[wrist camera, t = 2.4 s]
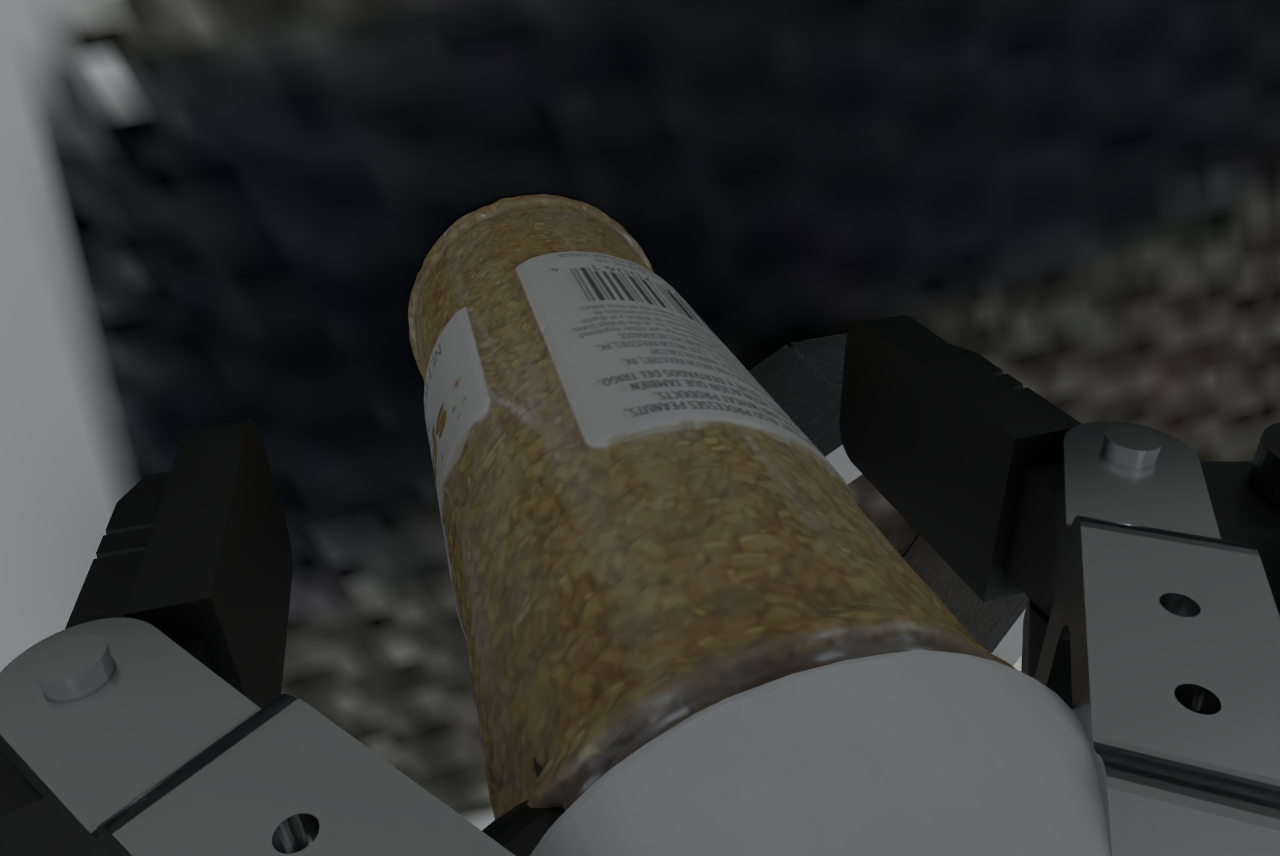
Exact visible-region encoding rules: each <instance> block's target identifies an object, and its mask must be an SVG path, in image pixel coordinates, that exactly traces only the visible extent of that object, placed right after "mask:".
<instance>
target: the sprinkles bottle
mask: <svg viewBox="0 0 1280 856" xmlns="http://www.w3.org/2000/svg"><path fill="white" fill-rule="evenodd" d="M408 321H409V338H410V342H411V346H412V350H413V355H414V357H415V360H416V363H417V365H418V368H419V370H420V373H421V374H422V376H423V379H424V383H425V388H424V410H425V421H426V427H427V433H428V439H429V445H430V451H431V457H432V463H433V470H434V476H435V482H436V489H437V496H438V503H439V509H440V516H441V522H442V528H443V534H444V540H445V546H446V553H447V559H448V566H449V573H450V579H451V584H452V589H453V594H454V599H455V604H456V609H457V614H458V618H459V621H460V624H461V627H462V630H463V633H464V636H465V639H466V642H467V645H468V653H469V663H470V670H471V676H472V681H473V688H474V697H475V702H476V706H477V711H478V720H479V729H480V734H481V743H482V746H483V750H484V754H485V757H486V776H487V782H488V789H489V795H490V800H491V804H492V809H493V813H494V817H495V820H496V819H497V818H499V817H500V816H502V815H503V814H505V813H506V812H508V811H509V810H511V809H512V808H514V807H515V806H517V805H518V804H520V803H522V802H523V801H526V800H529V802H528V804H527V805H528V806H529V807H530V808H549V807H560V808H564V809H565V810H566V811H565V812H564V813H563V814H562V815H561V816H560V817H559V818H558V819H557V820H556V821H555V823H554V824H553V825H552V826H551V827H550V828H549V830H548V831H547V832H546V833H545V834H544V836H543V837H542V839H541V840H540V842H539V843H538V845H537V846H536V848H535V849H534V850H533V852H532V853H531V855H530V856H1111V854H1110V847H1109V840H1108V833H1107V826H1106V820H1105V813H1104V807H1103V802H1102V797H1101V792H1100V786H1099V781H1098V776H1097V771H1096V767H1095V763H1094V759H1093V755H1092V751H1091V748H1090V744H1089V741H1088V738H1087V736H1086V733H1085V730H1084V728H1083V726H1082V724H1081V722H1080V720H1079V718H1078V716H1077V715H1076V714H1075V713H1074V712H1073V711H1072V709H1071V708H1070V707H1069V706H1068V705H1067V704H1066V703H1065V702H1064V701H1063V700H1062V699H1061V698H1060V697H1059V695H1058V694H1056V693H1055V692H1054V691H1052V690H1051V689H1049V688H1048V687H1047V686H1045V685H1044V684H1042V683H1041V682H1039V681H1038V680H1036V679H1034V678H1032V677H1030V676H1028V675H1026V674H1025V673H1023V672H1021V671H1019V670H1016V669H1015V668H1014V667H1013V666H1012V665H1011V664H1009V663H1008V662H1006V661H1004V660H1002V659H1000V658H999V657H997V656H995V655H993V654H991V653H990V652H989V651H987V650H986V649H985V648H983V647H982V646H981V645H979V644H978V643H977V642H976V641H975V639H974V638H973V637H972V636H971V635H970V633H969V632H968V631H967V630H966V629H965V627H964V626H963V625H962V624H961V623H960V622H959V621H958V619H957V618H956V617H955V616H954V615H953V614H952V613H951V611H950V610H949V609H948V608H947V607H946V606H945V605H944V604H943V602H942V601H941V600H940V599H939V598H938V597H937V596H936V594H935V593H934V592H933V591H932V590H931V589H930V587H929V586H928V585H927V584H926V583H925V582H924V581H923V580H922V579H921V578H920V577H919V576H918V574H917V573H916V572H915V571H914V570H913V569H912V568H911V567H910V565H909V564H908V563H907V562H906V561H905V560H904V559H903V558H902V557H901V555H900V554H899V553H898V552H897V551H896V550H895V549H894V548H893V547H892V545H891V544H890V543H889V541H888V540H887V539H886V537H885V536H884V535H883V533H882V532H881V531H880V530H879V529H878V528H877V527H876V526H875V525H874V524H873V523H872V521H871V520H870V519H869V518H868V517H867V516H866V515H865V513H864V512H863V511H862V510H861V509H860V508H859V507H858V506H857V503H856V501H855V499H854V497H853V495H852V492H851V490H850V489H849V487H848V485H847V483H846V482H845V480H844V478H843V477H842V476H841V475H840V474H839V473H838V472H837V470H836V469H835V468H834V467H833V466H832V465H831V463H830V462H829V461H828V460H827V459H826V458H825V456H824V455H823V454H822V453H821V452H820V451H819V450H818V448H817V447H816V446H815V445H814V444H813V443H812V442H811V441H810V440H809V439H808V437H807V436H806V435H805V434H804V433H803V432H802V431H801V430H800V429H799V428H798V426H797V425H796V424H795V423H794V422H793V421H792V420H791V419H790V417H789V416H788V415H787V414H786V413H785V412H784V411H783V410H782V408H781V407H780V406H779V405H778V404H777V403H776V402H775V401H774V400H773V398H772V397H771V396H770V395H769V394H768V393H767V392H766V391H765V389H764V388H763V387H762V386H761V385H760V384H759V383H758V382H757V380H756V379H755V378H754V377H753V376H752V375H751V374H750V373H749V372H748V370H747V369H746V368H745V367H744V366H743V365H742V364H741V363H740V361H739V360H738V359H737V358H736V357H735V356H734V355H733V354H732V353H731V351H730V350H729V349H728V348H727V347H726V346H725V345H724V344H723V342H722V341H721V340H720V339H719V338H718V337H717V336H716V335H715V334H714V332H713V331H712V330H711V329H710V328H709V327H708V326H707V325H706V323H705V322H704V321H703V320H702V319H701V318H700V317H699V316H698V314H697V313H696V312H695V311H694V310H693V309H692V308H691V307H690V306H689V304H688V303H687V302H686V301H685V300H684V299H683V298H682V297H681V296H680V295H679V294H678V293H677V292H676V291H675V290H674V289H673V288H672V286H670V285H669V284H668V283H667V282H666V281H664V280H663V279H662V278H661V277H659V276H658V275H656V274H655V273H654V271H653V269H652V266H651V264H650V262H649V260H648V259H647V257H646V255H645V253H644V252H643V250H642V249H641V247H640V246H639V244H638V243H637V241H636V240H635V239H634V238H633V237H632V236H631V235H629V234H628V233H627V232H626V230H625V229H624V228H623V227H622V226H621V225H620V224H619V223H618V222H616V221H615V220H613V219H611V218H610V217H609V216H607V215H606V214H605V213H603V212H602V211H601V210H599V209H598V208H596V207H594V206H591V205H589V204H587V203H584V202H582V201H577V200H572V199H569V198H566V197H562V196H558V195H548V194H538V195H524V196H517V197H513V198H504V199H500V200H498V201H496V202H495V203H493V204H491V205H487V206H484V207H481V208H479V209H478V210H476V211H473V212H471V213H468V214H466V215H464V216H463V217H461V218H459V219H458V220H457V221H456V222H454V223H453V224H452V225H451V226H450V227H449V228H448V229H447V230H446V231H445V232H444V234H443V235H442V236H441V237H440V238H439V239H438V240H437V242H436V243H435V244H434V245H433V247H432V248H431V250H430V251H429V253H428V254H427V256H426V258H425V260H424V262H423V266H422V268H421V270H420V271H419V273H418V274H417V278H416V281H415V284H414V286H413V289H412V291H411V295H410V300H409V308H408ZM533 758H535V760H536V761H537V763H538V764H539V765H540V766H541V767H543V771H542V772H541V774H540V775H539V777H538V778H537V776H536V771H535V766H534V761H533Z"/></svg>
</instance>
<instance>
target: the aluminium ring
mask: <svg viewBox="0 0 1280 856" xmlns="http://www.w3.org/2000/svg"><path fill="white" fill-rule="evenodd" d="M847 334H848V333H845V334H839V335H832V336H826V337H820V338H814V339H808V340H802V341H796V342H790V347H789V346H788V345H787V344H786V345H784V346H783V347H782V348H780V349H779V350H777V351H776V352H775V353H773V354H772V355H770V356H769V357H768V358H766V359H765V360H763V361H762V362H761V363H759V364H758V365H756V366H755V367H754V368H752V369H751V370H749V371H748V372H749V373H750V374H751V375H752V376H753V377H754V378H755V379H756V380H757V382H758V383H759V384H760V385H761V386H762V387H763V388H764V389H765V391H766V392H767V393H768V394H769V395H770V396H771V397H772V398H773V400H774V401H775V402H776V403H777V404H778V405H779V406H780V407H781V408H782V410H783V411H784V412H785V413H786V414H787V415H788V416H789V417H790V419H791V420H792V421H793V422H794V423H795V424H796V425H797V426H798V428H799V429H800V430H801V431H802V432H803V433H804V434H805V435H806V436H807V437H808V439H809V440H810V441H811V442H812V443H813V444H814V445H815V446H816V447H817V448H818V450H819V451H820V452H821V453H822V454H823V455H824V456H825V458H826V459H827V460H828V461H829V462H830V463H831V465H832V466H833V467H834V468H835V469H836V470H837V472H838V473H839V474H840V475H841V476H842V477H843V478H844V480H845V482H846V483H847V485H848V484H849V483H850V482H852V481H853V480H855V479H856V478H858V477H859V476H860V475H862V473H861V472H860V471H859V470H858V469H857V468H856V467H855V466H854V464H853V463H852V462H851V461H850V459H849V458H848V456H847V454H846V452H845V449H844V447H843V444H842V440H841V435H840V426H839V420H840V406H841V394H842V381H843V368H844V356H845V343H846V337H847ZM902 558H903V559H904V560H905V561H906V562H907V563H908V564H909V565H910V567H911V568H912V569H913V570H914V571H915V572H916V573H917V574H918V576H919V577H920V578H921V579H922V580H923V581H924V582H925V583H926V584H927V585H928V586H929V587H930V589H931V590H932V591H933V592H934V593H935V594H936V596H937V597H938V598H939V599H940V600H941V601H942V602H943V604H944V605H945V606H946V607H947V608H948V609H949V610H950V611H951V613H952V614H953V615H954V616H955V617H956V618H957V619H958V621H959V622H960V623H961V624H962V625H963V626H964V627H965V629H966V630H967V631H968V632H969V633H970V635H971V636H972V637H973V638H974V639H975V641H976V642H977V643H978V644H979V645H981V646H982V647H983V648H985V649H986V650H987V651H989V652H990V653H991V654H993V655H995V656H997V657H999V658H1000V659H1002V660H1004V661H1006V662H1008V663H1009V664H1011V665H1014V664H1015V663H1016V661H1017V660H1018V659H1019V658H1020V656H1021V655H1022V639H1023V619H1024V614H1025V610H1026V605H1027V601H1028V596H1027V595H1026V594H1025V593H1024V592H1023V593H1019V594H1015V595H1011V596H1007V597H1003V598H999V599H995V600H991V601H986V602H983V601H982V600H981V599H980V598H979V597H978V596H977V595H976V594H975V593H974V592H973V591H972V589H971V588H970V587H969V586H968V585H967V584H966V583H965V582H964V581H963V580H962V579H961V578H960V577H959V576H958V575H957V574H956V573H955V571H954V570H953V569H952V568H951V567H950V566H949V565H948V564H947V563H946V562H945V561H944V560H943V559H942V558H941V557H940V556H939V555H938V553H937V552H936V551H935V550H934V549H933V548H932V547H931V546H930V545H929V544H928V543H927V542H926V541H925V540H924V539H923V538H922V537H921V535H919V536H918V538H917V539H916V541H915V542H914V544H913V545H912V547H911V548H910V550H909V551H908V553H907V554H906V555H905V556H903V557H902Z"/></svg>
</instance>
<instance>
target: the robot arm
mask: <svg viewBox="0 0 1280 856" xmlns="http://www.w3.org/2000/svg"><path fill="white" fill-rule="evenodd" d="M839 426H840V435H841V440H842V444H843V447H844V449H845V452H846V454H847V456H848V458H849V459H850V461H851V462H852V463H853V464H854V466H855V467H856V468H857V469H858V470H859V471H860V472H861V473H862V474H863V475H864V476H865V477H866V478H867V479H868V480H869V481H870V482H871V484H872V485H873V486H874V487H875V488H876V489H877V490H878V491H879V492H880V493H881V494H882V495H883V496H884V497H885V498H886V499H887V500H888V502H889V503H890V504H891V505H892V506H893V507H894V508H895V509H896V510H897V511H898V512H899V513H900V514H901V515H902V516H903V517H904V519H905V520H906V521H907V522H908V523H909V524H910V525H911V526H912V527H913V528H914V529H915V530H916V531H917V532H918V533H919V534H920V535H921V537H922V538H923V539H924V540H925V541H926V542H927V543H928V544H929V545H930V546H931V547H932V548H933V549H934V550H935V551H936V552H937V553H938V555H939V556H940V557H941V558H942V559H943V560H944V561H945V562H946V563H947V564H948V565H949V566H950V567H951V568H952V569H953V570H954V571H955V573H956V574H957V575H958V576H959V577H960V578H961V579H962V580H963V581H964V582H965V583H966V584H967V585H968V586H969V587H970V588H971V589H972V591H973V592H974V593H975V594H976V595H977V596H978V597H979V598H980V599H981V600H982V601H983V602H986V601H991V600H995V599H999V598H1003V597H1007V596H1011V595H1015V594H1019V593H1023V592H1024V593H1025V594H1026V595H1027V596H1028V601H1027V605H1026V610H1025V614H1024V619H1023V639H1022V671H1021V672H1023V673H1025V674H1026V675H1028V676H1030V677H1032V678H1034V679H1036V680H1038V681H1039V682H1041V683H1042V684H1044V685H1045V686H1047V687H1048V688H1049V689H1051V690H1052V691H1054V692H1055V693H1056V694H1058V695H1059V697H1060V698H1061V699H1062V700H1063V701H1064V702H1065V703H1066V704H1067V705H1068V706H1069V707H1070V708H1071V709H1072V711H1073V712H1074V713H1075V714H1076V715H1077V716H1078V718H1079V720H1080V722H1081V724H1082V726H1083V728H1084V730H1085V733H1086V736H1087V738H1088V741H1089V744H1090V748H1091V751H1092V755H1093V759H1094V763H1095V767H1096V771H1097V776H1098V781H1099V786H1100V792H1101V797H1102V802H1103V807H1104V813H1105V820H1106V826H1107V833H1108V840H1109V847H1110V854H1111V856H1280V423H1276V424H1273V425H1271V426H1269V427H1268V428H1266V429H1265V430H1264V432H1263V434H1262V437H1261V439H1260V442H1259V445H1258V448H1257V451H1256V454H1255V456H1254V459H1253V462H1200V460H1199V458H1198V456H1197V454H1196V453H1195V452H1194V450H1193V449H1192V448H1190V447H1189V446H1188V445H1187V444H1186V443H1184V442H1183V441H1181V440H1180V439H1178V438H1176V437H1174V436H1172V435H1170V434H1168V433H1165V432H1163V431H1160V430H1158V429H1154V428H1151V427H1148V426H1144V425H1140V424H1135V423H1129V422H1121V421H1094V422H1088V423H1084V424H1081V423H1080V422H1078V421H1077V420H1075V419H1074V418H1072V417H1071V416H1069V415H1068V414H1066V413H1065V412H1063V411H1062V410H1060V409H1059V408H1057V407H1056V406H1055V405H1053V404H1052V403H1050V402H1049V401H1047V400H1046V399H1044V398H1043V397H1041V396H1040V395H1038V394H1037V393H1035V392H1034V391H1032V390H1031V389H1029V388H1028V387H1027V388H1023V386H1022V383H1020V382H1019V381H1017V380H1016V379H1014V378H1013V377H1011V376H1010V375H1008V374H1003V372H1002V370H1001V369H1000V368H998V367H997V366H995V365H994V364H992V363H991V362H989V361H988V360H986V359H985V358H983V357H982V356H980V355H979V354H976V353H974V352H971V351H968V350H965V349H962V348H960V347H957V346H954V345H951V344H948V343H947V342H946V341H944V340H943V339H941V338H940V337H938V336H937V335H935V334H934V333H933V332H931V331H930V330H928V329H927V328H925V327H924V326H922V325H921V324H919V323H918V322H917V321H915V320H914V319H912V318H911V317H909V316H906V315H901V316H895V317H888V318H882V319H876V320H870V321H863V322H857V323H855V324H853V325H852V326H851V327H850V329H849V331H848V334H847V337H846V343H845V356H844V368H843V381H842V394H841V406H840V420H839ZM96 554H97V559H94V560H93V562H92V565H91V567H90V570H89V572H88V574H87V577H86V579H85V582H84V584H83V587H82V589H81V591H80V594H79V596H78V599H77V601H76V604H75V606H74V609H73V611H72V613H71V616H70V618H69V621H68V623H67V626H66V628H65V630H63V631H60V632H58V633H55V634H54V635H51V636H49V637H48V638H46V639H43V640H42V641H40V642H38V643H37V644H35V645H33V646H32V647H30V648H28V649H27V650H26V651H24V652H23V653H22V654H20V655H19V656H17V657H16V658H15V659H14V660H13V661H12V662H10V663H9V664H8V665H7V666H6V667H5V668H4V669H3V670H2V672H1V673H0V856H530V855H531V853H532V852H533V850H534V849H535V848H536V846H537V845H538V843H539V842H540V840H541V839H542V837H543V836H544V834H545V833H546V832H547V831H548V830H549V828H550V827H551V826H552V825H553V824H554V823H555V821H556V820H557V819H558V818H559V817H560V816H561V815H562V814H563V813H564V812H565V811H566V810H565V809H564V808H560V807H549V808H530V807H529V806H528V805H527V804H528V802H529V800H526V801H523V802H522V803H520V804H518V805H517V806H515V807H514V808H512V809H511V810H509V811H508V812H506V813H505V814H503V815H502V816H500V817H499V818H497V819H496V820H494V821H493V822H492V823H491V824H490V825H488V826H487V827H486V828H485V829H484V830H482V831H481V830H480V829H478V828H477V827H476V826H474V825H473V824H471V823H470V822H469V821H467V820H466V819H465V818H463V817H462V816H460V815H459V814H458V813H456V812H455V811H454V810H452V809H451V808H449V807H448V806H447V805H445V804H444V803H443V802H441V801H440V800H438V799H437V798H436V797H434V796H433V795H432V794H430V793H429V792H427V791H426V790H425V789H423V788H422V787H421V786H419V785H418V784H416V783H415V782H414V781H412V780H411V779H410V778H408V777H407V776H406V775H404V774H403V773H401V772H400V771H399V770H397V769H396V768H395V767H393V766H392V765H390V764H389V763H388V762H386V761H385V760H384V759H382V758H381V757H379V756H378V755H377V754H375V753H374V752H373V751H371V750H370V749H368V748H367V747H366V746H364V745H363V744H362V743H360V742H359V741H357V740H356V739H355V738H353V737H352V736H351V735H349V734H348V733H347V732H345V731H344V730H342V729H341V728H340V727H338V726H337V725H336V724H334V723H333V722H331V721H330V720H329V719H327V718H326V717H325V716H323V715H322V714H320V713H319V712H318V711H316V710H315V709H314V708H312V707H311V706H309V705H308V704H307V703H305V702H304V701H302V700H301V699H299V698H297V697H295V696H293V695H289V694H282V695H281V690H282V679H283V668H284V657H285V646H286V635H287V624H288V613H289V603H290V592H291V581H292V552H291V544H290V538H289V533H288V528H287V524H286V521H285V517H284V514H283V510H282V507H281V504H280V500H279V497H278V493H277V490H276V487H275V483H274V480H273V476H272V473H271V470H270V466H269V463H268V459H267V456H266V453H265V449H264V446H263V442H262V439H261V436H260V433H259V430H258V428H257V426H256V424H255V422H254V421H253V419H251V418H250V419H243V420H237V421H231V422H225V423H218V424H212V425H206V426H200V427H193V428H188V429H186V430H185V432H184V435H183V438H182V441H181V444H180V447H179V450H178V453H177V456H176V459H175V462H174V465H173V468H172V471H170V472H164V473H158V474H152V475H146V476H145V477H144V478H143V479H142V480H140V481H139V482H138V483H137V484H136V485H135V486H134V487H133V488H132V489H131V490H130V491H129V492H128V493H127V494H126V495H124V496H123V497H122V498H121V499H120V500H119V501H118V502H117V504H116V506H115V509H114V511H113V513H112V516H111V518H110V521H109V523H108V526H107V528H106V535H105V536H103V538H102V540H101V543H100V545H99V548H98V550H97V552H96ZM533 761H534V766H535V771H536V776H537V778H538V777H539V775H540V774H541V772H542V771H543V767H541V766H540V765H539V764H538V763H537V761H536V760H535V758H533Z"/></svg>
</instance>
